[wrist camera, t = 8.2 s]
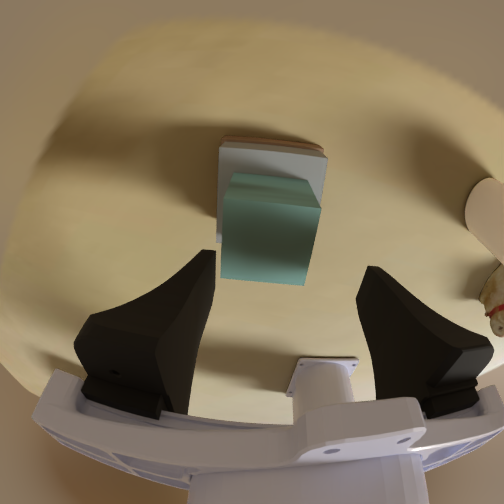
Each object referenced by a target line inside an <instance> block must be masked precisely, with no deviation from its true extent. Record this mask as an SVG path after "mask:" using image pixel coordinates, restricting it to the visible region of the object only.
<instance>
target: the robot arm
mask: <svg viewBox="0 0 504 504" xmlns="http://www.w3.org/2000/svg"><path fill="white" fill-rule="evenodd" d="M215 270H216V251H214V250H204V249H203V250H201V251H200V252H199V253H198V254H197V255H196V256H195V257H194V258H193V259H192V260H191V261H189V262H188V263H187V264H186V265H185V266H184V267H183V268H182V269H181V270H179V271H178V272H177V273H176V274H175V275H173V276H172V277H171V278H169V279H168V280H167V281H166V282H164V283H163V284H161V285H160V286H158V287H157V288H155V289H153V290H152V291H150V292H148V293H146V294H144V295H142V296H140V297H139V298H137V299H135V300H133V301H130V302H128V303H126V304H123V305H121V306H118V307H115V308H112V309H109V310H106V311H102V312H99V313H96V314H92V315H90V316H89V318H88V319H87V321H86V322H85V324H84V325H83V327H82V329H81V330H80V332H79V334H78V335H77V337H76V339H75V341H74V349H75V352H76V354H77V356H78V358H79V360H80V362H81V364H82V365H83V367H84V369H85V370H86V372H87V374H88V376H87V378H86V380H85V382H84V380H82V379H81V378H80V377H78V376H75V375H73V374H70V373H67V372H65V371H62V370H60V369H55V370H54V372H53V374H52V376H51V378H50V379H49V381H48V383H47V385H46V387H45V389H44V391H43V393H42V395H41V397H40V399H39V401H38V403H37V405H36V408H35V410H34V412H33V414H32V416H31V417H32V419H33V420H34V421H35V422H36V423H37V424H38V425H39V426H40V427H41V428H43V429H44V430H45V431H46V432H47V433H48V434H50V435H51V436H52V437H53V438H55V439H56V440H57V441H58V442H60V443H61V444H62V445H64V446H66V447H69V448H71V449H73V450H75V451H77V452H79V453H81V454H83V455H86V456H88V457H90V458H92V459H95V460H97V461H99V462H102V463H104V464H106V465H109V466H112V467H114V468H117V469H119V470H122V471H125V472H127V473H130V474H133V475H136V476H139V477H142V478H145V479H148V480H152V481H155V482H158V483H162V484H165V485H169V486H173V487H177V488H181V489H186V490H189V494H188V501H187V504H429V499H428V492H427V486H426V480H425V476H424V472H426V471H429V470H431V469H433V468H436V467H438V466H441V465H443V464H446V463H447V462H450V461H452V460H454V459H457V458H459V457H461V456H463V455H465V454H468V453H469V452H472V451H474V450H475V449H478V448H479V447H481V446H482V445H484V444H485V443H486V442H488V441H489V440H490V439H492V438H493V437H494V436H496V435H497V434H498V433H500V432H501V431H502V430H503V429H504V405H503V402H502V400H501V397H500V395H499V393H498V391H497V388H496V386H495V385H491V386H488V387H485V388H482V389H480V390H479V391H476V389H475V386H477V384H478V382H477V380H476V377H477V376H478V375H479V374H480V373H481V372H482V370H483V369H484V368H485V367H486V366H487V364H488V363H489V362H490V360H491V358H492V356H493V353H494V348H493V346H492V344H491V343H490V341H489V339H488V338H487V337H485V336H482V335H480V334H477V333H474V332H472V331H469V330H467V329H465V328H463V327H461V326H459V325H457V324H455V323H453V322H451V321H449V320H448V319H446V318H444V317H443V316H441V315H439V314H438V313H436V312H435V311H433V310H432V309H431V308H429V307H428V306H426V305H425V304H424V303H422V302H421V301H420V300H419V299H417V298H416V297H415V296H414V295H412V294H411V293H410V292H409V291H408V290H406V289H405V288H404V287H403V286H402V285H401V284H400V283H398V282H397V281H396V280H395V279H394V278H393V277H391V276H390V275H389V274H388V273H387V272H385V271H384V270H383V269H381V268H380V267H376V266H367V269H366V272H365V275H364V278H363V281H362V283H361V286H360V289H359V291H358V294H357V296H356V304H357V310H358V315H359V319H360V322H361V325H362V328H363V332H364V335H365V338H366V341H367V344H368V348H369V351H370V355H371V359H372V365H373V371H374V379H375V389H376V400H373V401H361V402H355V401H354V396H353V391H352V386H351V381H350V376H351V375H352V373H353V371H354V370H355V368H356V367H357V365H358V363H359V359H357V358H347V359H337V358H300V359H299V360H298V362H297V365H296V368H295V370H294V373H293V376H292V378H291V381H290V384H289V386H288V389H287V391H286V396H287V397H292V398H293V424H294V425H277V424H257V423H243V422H233V421H224V420H215V419H208V418H201V417H195V416H189V415H188V407H189V400H190V393H191V386H192V380H193V374H194V368H195V363H196V357H197V352H198V348H199V344H200V340H201V337H202V334H203V331H204V328H205V325H206V322H207V319H208V315H209V312H210V309H211V306H212V302H213V296H214V291H215Z"/></svg>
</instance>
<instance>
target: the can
mask: <svg viewBox="0 0 504 504" xmlns="http://www.w3.org/2000/svg"><path fill="white" fill-rule="evenodd" d="M465 221H466V225H467V228H468V230H469V231H470V232H471V233H472V234H473V235H474V236H475V237H476V238H477V239H478V240H479V241H480V242H481V243H482V244H483V245H484V246H485V247H486V248H487V249H488V250H489V251H490V252H491V253H492V254H493V255H494V256H495V257H496V258H497V259H498V260H499V261H500V262H501V263H502V264H503V265H504V184H503V183H501V182H500V181H498V180H496V179H494V178H486V179H483V180H482V181H480V182H479V183H477V184H476V185H475V187H474V188H473V189H472V191H471V192H470V194H469V196H468V199H467V202H466V206H465Z"/></svg>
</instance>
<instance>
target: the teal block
mask: <svg viewBox="0 0 504 504" xmlns="http://www.w3.org/2000/svg"><path fill="white" fill-rule="evenodd" d="M320 213H321V207H320V205H319V202H318V200H317V198H316V196H315V194H314V192H313V190H312V188H311V186H310V184H309V182H308V180H301V179H293V178H285V177H277V176H267V175H257V174H247V173H235V172H234V173H233V176H232V178H231V181H230V183H229V186H228V188H227V191H226V193H225V196H224V200H223V222H222V247H221V278H226V279H236V280H246V281H256V282H267V283H278V284H290V285H302V286H304V283H305V279H306V275H307V271H308V267H309V263H310V258H311V254H312V250H313V245H314V241H315V237H316V232H317V227H318V223H319V218H320Z"/></svg>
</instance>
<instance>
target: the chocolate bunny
mask: <svg viewBox="0 0 504 504" xmlns="http://www.w3.org/2000/svg"><path fill="white" fill-rule="evenodd" d="M479 299H480V302H481V303H482V304H484V307H485V310H486V313H485V316H486V317H487V316H489V318H490V319H491V320H490V326H491V328H492V331H493V333H494V334H495V335H496V336H498V337H504V265H503V264H502V263H501V264H500V265H499V267H498V268H497V269H496V270H495V271H494V272H493V273H492V275H491V276H490V277H489V279H488V280H487V281H486V283H485V285H484V287H483V289H482V291H481V293H480V296H479Z"/></svg>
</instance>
